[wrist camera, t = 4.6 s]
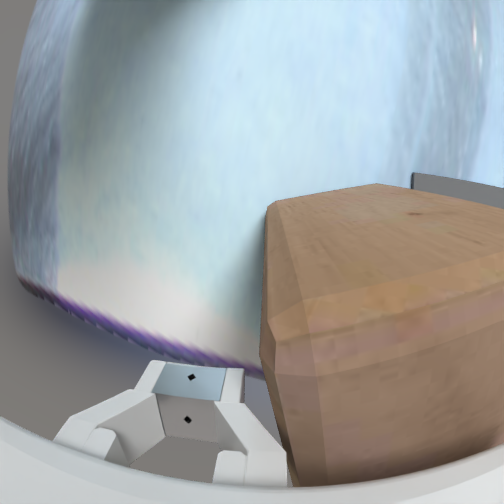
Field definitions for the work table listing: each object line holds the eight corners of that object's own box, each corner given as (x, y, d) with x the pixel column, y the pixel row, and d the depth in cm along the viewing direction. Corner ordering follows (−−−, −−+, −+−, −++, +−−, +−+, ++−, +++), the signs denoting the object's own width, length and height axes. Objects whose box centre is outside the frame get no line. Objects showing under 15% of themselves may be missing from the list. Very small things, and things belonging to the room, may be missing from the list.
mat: (412, 172, 22) (414, 172, 22) (553, 201, 21) (555, 201, 21) (392, 325, 26) (393, 327, 26) (532, 312, 25) (534, 313, 25)
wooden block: (383, 181, 23) (604, 231, 4) (393, 293, 25) (526, 461, 6) (262, 202, 24) (244, 336, 5) (285, 316, 26) (304, 544, 7)
